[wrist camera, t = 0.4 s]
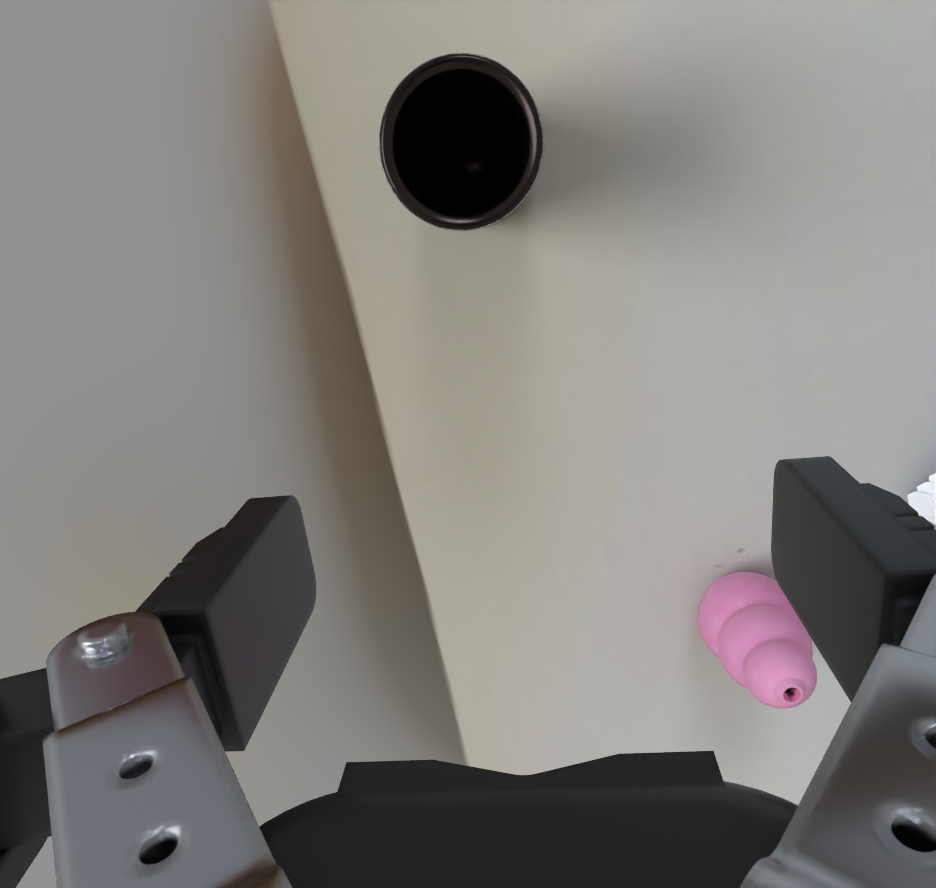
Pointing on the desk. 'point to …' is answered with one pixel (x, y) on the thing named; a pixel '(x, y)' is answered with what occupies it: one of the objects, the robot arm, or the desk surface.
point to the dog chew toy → (758, 638)
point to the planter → (461, 142)
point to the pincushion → (925, 499)
